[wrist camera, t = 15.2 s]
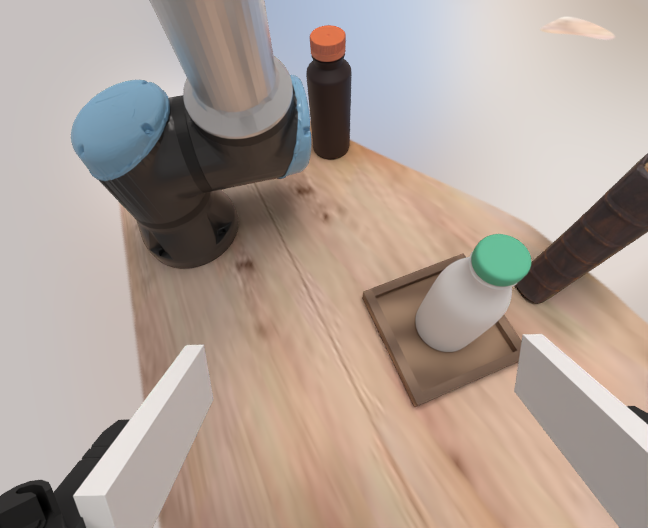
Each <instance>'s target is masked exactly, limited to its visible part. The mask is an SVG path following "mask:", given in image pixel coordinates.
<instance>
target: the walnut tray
mask: <svg viewBox="0 0 648 528" xmlns="http://www.w3.org/2000/svg"><path fill="white" fill-rule="evenodd" d="M463 258H466V257H465V255H464V254H460V255H458V256H455V257H453V258H450V259H447V260H445V261H442V262H440V263H437V264H434V265H432V266H429V267H426V268H424V269H421V270H419V271H416V272H413V273H411V274H408V275H406V276H403V277H400V278H398V279H395V280H393V281H390V282H387V283H385V284H382V285H379V286H377V287H374V288H372V289H369V290H366V291H364V292H363V300H364V302H365V304H366V306H367V308H368V310H369V312H370V315H371V317H372V319H373V321H374V323H375V325H376V327H377V329H378V332H379V334H380V336H381V338H382V340H383V342H384V344H385V346H386V348H387V351H388V353H389V355H390V357H391V359H392V361H393V363H394V365H395V367H396V370H397V372H398V374H399V376H400V378H401V380H402V382H403V384H404V386H405V389H406V391H407V393H408V395H409V397H410V399H411V401H412V403H413V406H414V407H416V406H418V405H420V404H423V403H425V402H427V401H429V400H432V399H434V398H436V397H439V396H441V395H443V394H445V393H448V392H450V391H452V390H455V389H457V388H459V387H461V386H464V385H466V384H468V383H471V382H473V381H475V380H477V379H480V378H482V377H484V376H487V375H489V374H491V373H493V372H496V371H498V370H500V369H503V368H505V367H507V366H509V365H512V364H514V363H516V362H518V361H519V356H520V350H521V343H522V341H521V339H520V338H519V336H518V335H517V333H516V332H515V330H514V329H513V327H512V326H511V324H510V323H509V321H508V320H507V318H506V317H505V315H503V316H502V317H501V318H500V320H498V321H497V322H496V323H495V324H494V325H493V326H492V327H491V328H489V329H488V330H487V331H485V332H484V333H483V334H482V335H480V336H479V337H478V338H476V339H475V340H474V341H472V342H471V343H470V344H468V345H467V346H465V347H464V348H462V349H460V350H458V351H454V352H443V351H439V350H436V349H434V348H432V347H430V346H429V345H428V344H426V343H425V342H424V341H423V340H422V338H421V337H420V335H419V333H418V331H417V328H416V323H415V319H416V314H417V311H418V309H419V307H420V305H421V303H422V302H423V300H424V298H425V297H426V295H427V293H428V291H429V290H430V288H431V287H432V285H433V283H434V282H435V280H436V279H437V277H438V276H439V275H440V273H441V272H442V271H443V270H444V269H445V268H446V267H447V266H449V265H450V264H452V263H453V262H455V261H457V260H460V259H463Z"/></svg>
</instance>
